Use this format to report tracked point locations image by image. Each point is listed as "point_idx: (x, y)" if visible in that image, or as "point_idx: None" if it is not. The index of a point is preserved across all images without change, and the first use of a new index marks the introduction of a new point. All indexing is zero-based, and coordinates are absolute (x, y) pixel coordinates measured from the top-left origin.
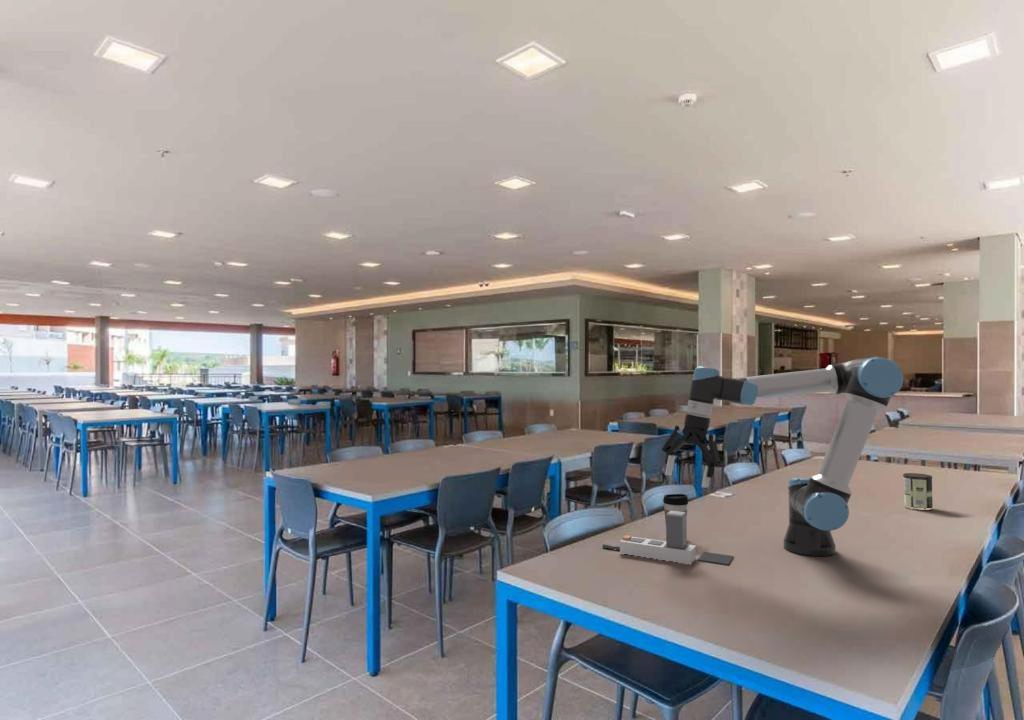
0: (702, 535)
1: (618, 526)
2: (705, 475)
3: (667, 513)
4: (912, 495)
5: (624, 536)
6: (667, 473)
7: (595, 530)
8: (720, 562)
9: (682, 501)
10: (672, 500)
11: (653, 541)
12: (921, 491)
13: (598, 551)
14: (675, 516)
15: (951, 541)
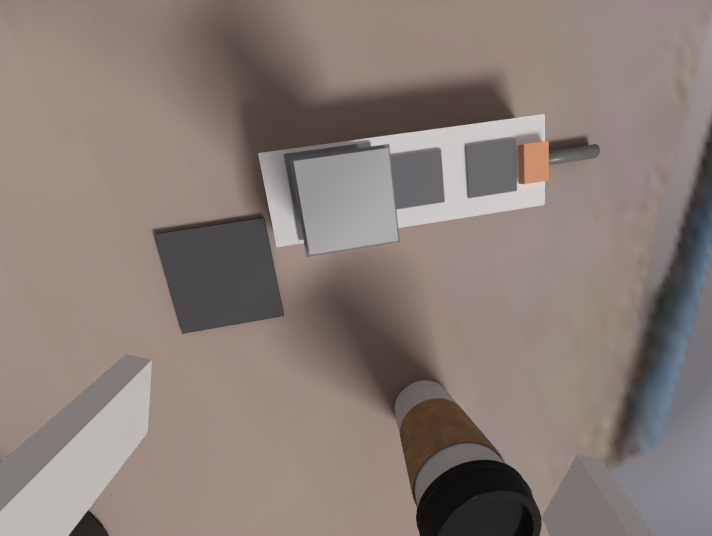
0: (364, 486)
1: (622, 410)
2: (8, 460)
3: (385, 150)
4: None
5: (545, 156)
6: (585, 476)
7: (673, 325)
8: (185, 234)
9: (435, 505)
10: (480, 482)
11: (430, 187)
12: None
13: (590, 102)
14: (333, 154)
15: None
